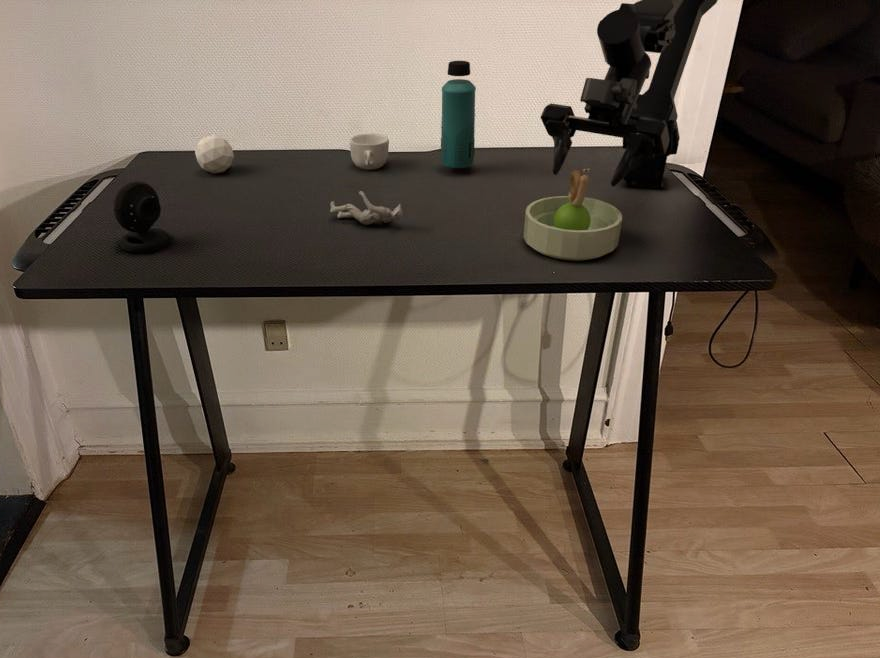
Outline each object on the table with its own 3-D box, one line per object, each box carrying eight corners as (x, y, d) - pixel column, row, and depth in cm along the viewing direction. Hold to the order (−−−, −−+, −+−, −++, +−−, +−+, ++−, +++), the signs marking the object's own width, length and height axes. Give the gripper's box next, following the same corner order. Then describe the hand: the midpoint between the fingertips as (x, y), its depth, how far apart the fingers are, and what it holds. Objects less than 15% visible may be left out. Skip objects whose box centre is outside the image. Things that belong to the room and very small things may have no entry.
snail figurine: (559, 248, 109) (569, 170, 102) (548, 231, 114) (556, 155, 108) (594, 246, 109) (606, 168, 103) (581, 229, 115) (591, 154, 108)
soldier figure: (348, 215, 125) (411, 201, 120) (348, 241, 124) (411, 228, 119) (325, 196, 118) (390, 180, 113) (324, 223, 117) (390, 208, 112)
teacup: (351, 160, 147) (350, 133, 144) (389, 159, 147) (389, 132, 144) (349, 176, 139) (347, 149, 136) (389, 176, 139) (388, 148, 136)
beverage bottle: (471, 176, 138) (476, 65, 127) (437, 175, 139) (438, 64, 128) (475, 165, 143) (480, 58, 132) (442, 164, 144) (444, 57, 133)
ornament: (196, 179, 139) (180, 140, 138) (219, 180, 146) (204, 143, 145) (224, 162, 136) (207, 122, 136) (246, 165, 143) (230, 127, 142)
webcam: (142, 258, 110) (128, 195, 104) (109, 248, 113) (93, 186, 108) (180, 240, 115) (168, 179, 110) (148, 230, 119) (135, 171, 113)
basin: (616, 229, 116) (621, 199, 114) (617, 267, 105) (622, 235, 102) (527, 222, 119) (530, 192, 117) (518, 258, 108) (521, 227, 105)
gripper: (552, 47, 107) (511, 141, 106) (678, 60, 98) (635, 163, 97) (568, 91, 117) (531, 177, 115) (685, 107, 108) (646, 201, 106)
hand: (582, 179), depth 108 cm, fingers open, 9 cm apart
